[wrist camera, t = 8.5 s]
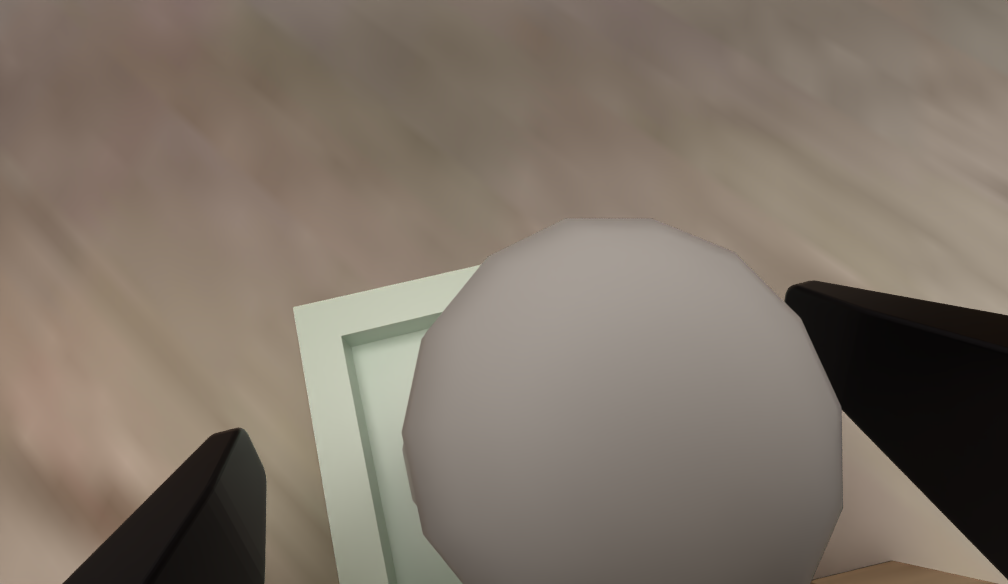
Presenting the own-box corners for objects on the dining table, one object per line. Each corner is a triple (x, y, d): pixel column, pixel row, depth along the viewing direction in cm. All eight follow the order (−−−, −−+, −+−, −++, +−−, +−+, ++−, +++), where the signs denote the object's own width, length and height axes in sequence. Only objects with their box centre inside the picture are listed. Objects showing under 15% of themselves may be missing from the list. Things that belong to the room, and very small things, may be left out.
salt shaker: (371, 436, 17) (136, 365, 4) (509, 319, 18) (639, 13, 6) (497, 593, 16) (675, 1109, 3) (631, 455, 17) (1106, 446, 5)
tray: (703, 558, 17) (738, 571, 15) (372, 671, 15) (359, 704, 13) (600, 258, 20) (617, 233, 18) (311, 325, 18) (293, 307, 16)
